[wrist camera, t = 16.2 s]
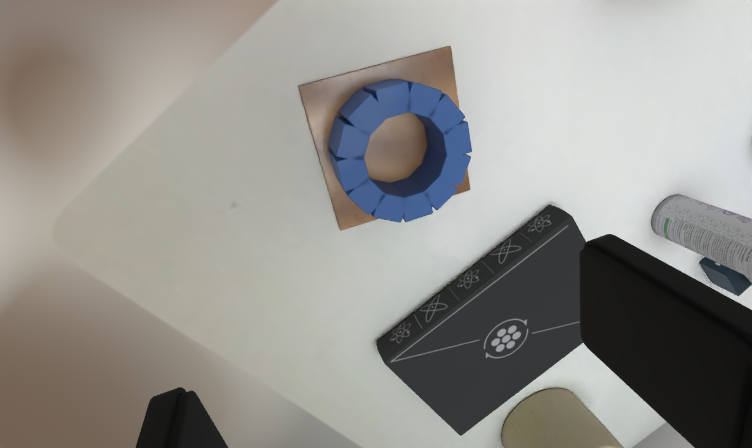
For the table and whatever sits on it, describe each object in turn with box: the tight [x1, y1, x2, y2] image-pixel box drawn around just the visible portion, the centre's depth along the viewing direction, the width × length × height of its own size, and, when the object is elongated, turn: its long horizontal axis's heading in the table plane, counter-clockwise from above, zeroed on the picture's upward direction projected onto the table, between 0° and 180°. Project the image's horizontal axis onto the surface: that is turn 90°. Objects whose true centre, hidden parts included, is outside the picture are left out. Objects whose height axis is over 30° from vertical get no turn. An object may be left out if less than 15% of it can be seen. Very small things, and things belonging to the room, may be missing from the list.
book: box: [377, 205, 586, 435], centre depth 42 cm, size 22×15×3 cm
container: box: [652, 195, 752, 278], centre depth 38 cm, size 5×5×15 cm
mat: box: [298, 46, 470, 230], centre depth 34 cm, size 12×12×1 cm
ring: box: [328, 79, 472, 222], centre depth 32 cm, size 10×10×4 cm
